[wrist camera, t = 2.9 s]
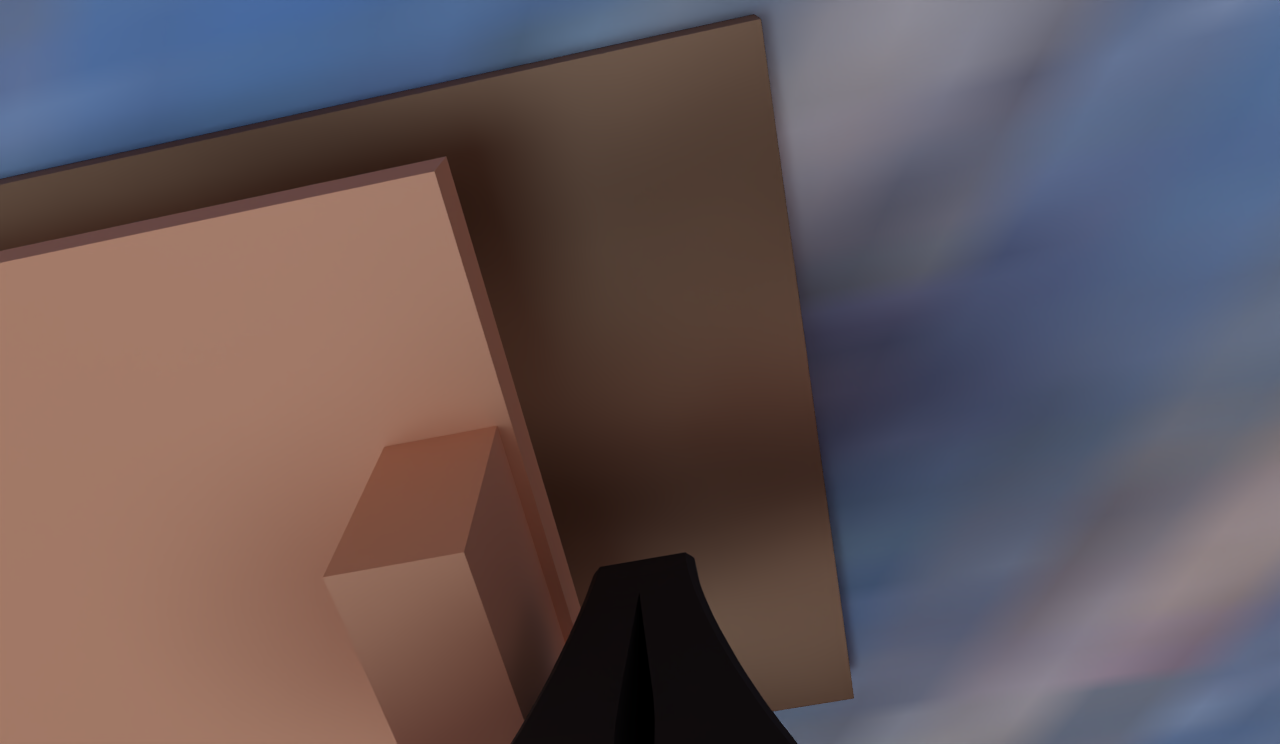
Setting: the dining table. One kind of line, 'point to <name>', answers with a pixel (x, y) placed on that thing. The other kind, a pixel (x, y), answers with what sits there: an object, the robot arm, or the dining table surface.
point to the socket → (592, 303)
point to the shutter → (270, 480)
